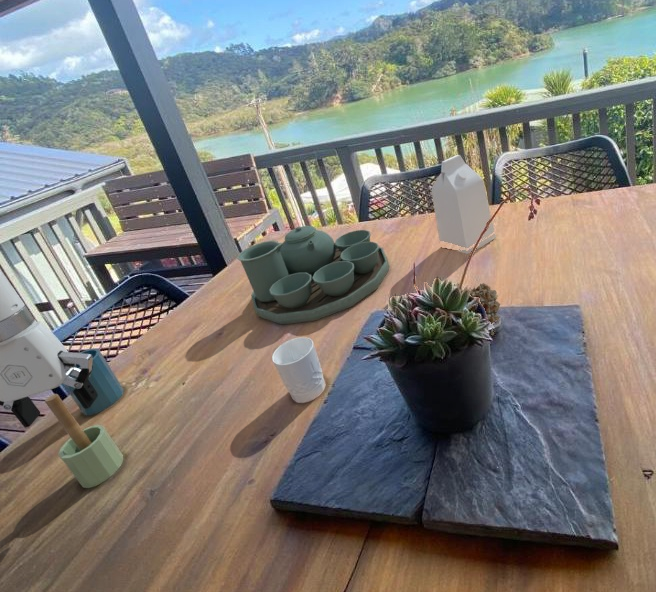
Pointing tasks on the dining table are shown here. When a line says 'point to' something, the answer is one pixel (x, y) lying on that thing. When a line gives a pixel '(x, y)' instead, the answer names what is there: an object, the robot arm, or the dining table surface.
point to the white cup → (299, 369)
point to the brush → (68, 421)
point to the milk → (461, 205)
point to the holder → (92, 457)
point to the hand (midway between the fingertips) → (62, 411)
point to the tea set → (312, 274)
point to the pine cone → (487, 301)
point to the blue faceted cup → (99, 384)
